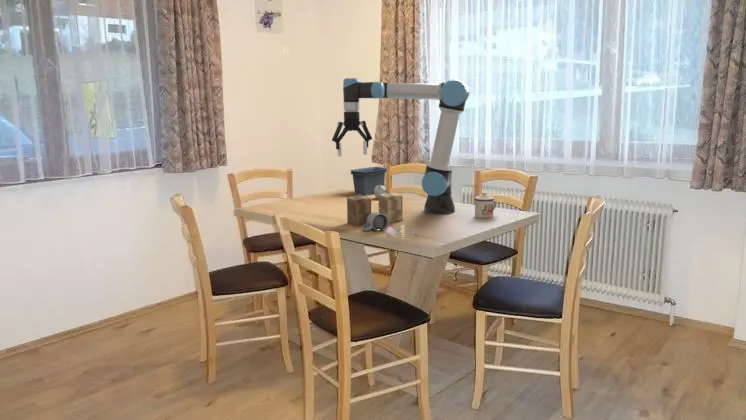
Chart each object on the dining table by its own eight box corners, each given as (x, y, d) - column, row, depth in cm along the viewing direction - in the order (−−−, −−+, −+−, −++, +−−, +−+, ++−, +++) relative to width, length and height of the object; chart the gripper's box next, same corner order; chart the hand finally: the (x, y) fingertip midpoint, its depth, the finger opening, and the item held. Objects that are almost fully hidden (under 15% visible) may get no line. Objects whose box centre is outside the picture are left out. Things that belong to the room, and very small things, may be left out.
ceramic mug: (380, 226, 270) (380, 209, 269) (388, 230, 263) (388, 213, 261) (359, 229, 266) (358, 212, 264) (366, 233, 259) (365, 215, 257)
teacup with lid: (483, 219, 282) (483, 194, 280) (470, 216, 289) (470, 192, 287) (502, 216, 288) (502, 192, 286) (489, 213, 296) (489, 189, 293)
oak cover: (394, 217, 289) (393, 192, 286) (402, 220, 282) (402, 195, 279) (378, 219, 285) (378, 194, 283) (386, 222, 278) (386, 196, 276)
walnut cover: (363, 221, 282) (363, 195, 279) (371, 224, 275) (371, 198, 272) (347, 223, 278) (346, 197, 276) (355, 226, 271) (354, 200, 269)
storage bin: (363, 196, 346) (362, 171, 344) (345, 193, 358) (345, 169, 355) (390, 192, 360) (389, 168, 358) (372, 189, 372) (372, 166, 369)
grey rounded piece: (381, 205, 338) (379, 193, 331) (369, 199, 342) (368, 186, 335) (391, 196, 342) (390, 184, 335) (380, 189, 346) (378, 177, 339)
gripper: (371, 110, 299) (372, 153, 303) (324, 111, 288) (325, 156, 292) (378, 110, 292) (378, 154, 296) (330, 112, 281) (331, 157, 285)
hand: (352, 155), depth 294 cm, fingers open, 13 cm apart
